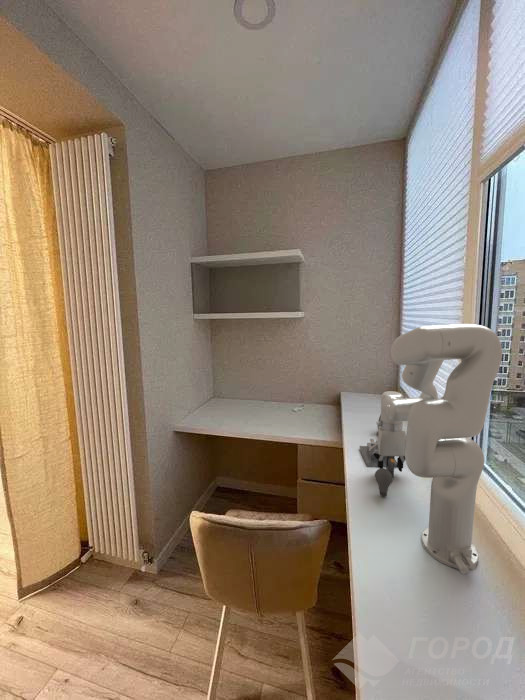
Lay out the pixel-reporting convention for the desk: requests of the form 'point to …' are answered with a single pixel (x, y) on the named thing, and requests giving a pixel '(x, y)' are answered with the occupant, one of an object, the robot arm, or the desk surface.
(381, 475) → the light bulb
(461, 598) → the desk surface
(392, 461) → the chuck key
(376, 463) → the block
